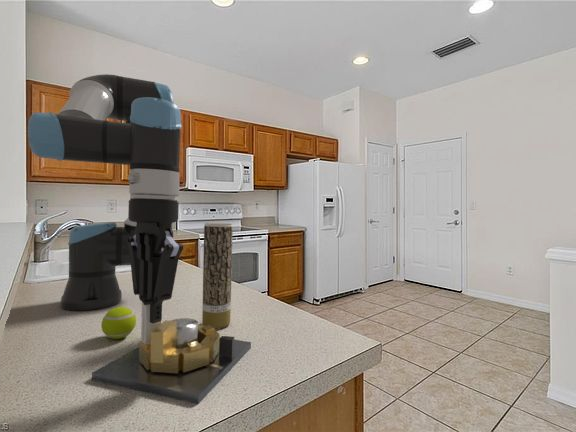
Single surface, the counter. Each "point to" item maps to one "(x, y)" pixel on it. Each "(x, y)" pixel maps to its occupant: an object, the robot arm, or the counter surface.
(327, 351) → the counter surface
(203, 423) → the counter surface
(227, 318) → the bark textured cylinder
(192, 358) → the ring nut
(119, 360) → the housing
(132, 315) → the tennis ball
